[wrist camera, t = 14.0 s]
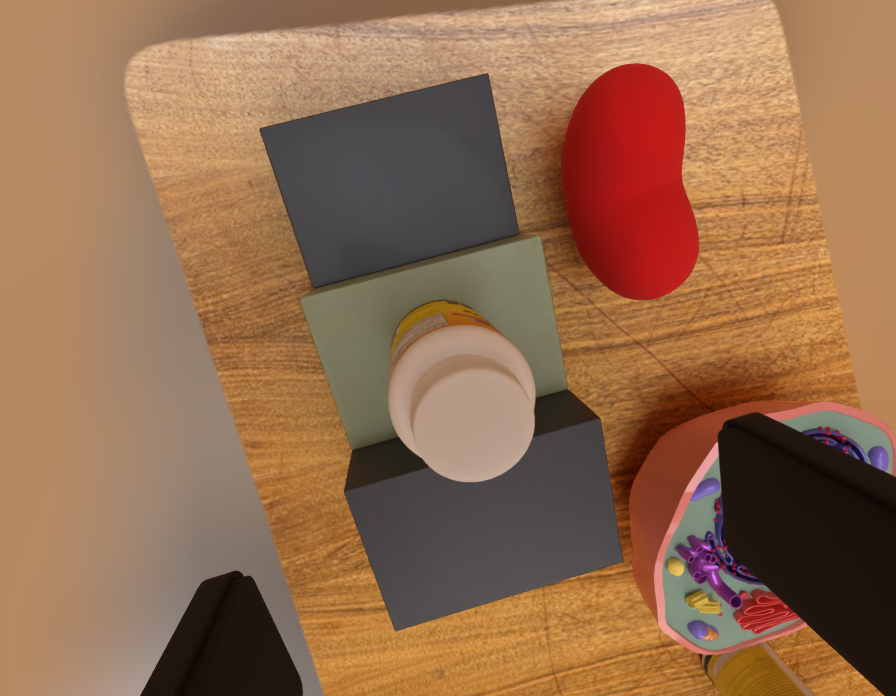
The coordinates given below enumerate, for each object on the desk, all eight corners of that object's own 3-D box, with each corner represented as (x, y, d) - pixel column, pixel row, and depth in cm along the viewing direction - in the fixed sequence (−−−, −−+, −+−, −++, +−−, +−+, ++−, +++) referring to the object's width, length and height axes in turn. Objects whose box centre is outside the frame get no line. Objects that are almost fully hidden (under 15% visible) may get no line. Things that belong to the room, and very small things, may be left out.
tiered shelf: (395, 506, 33) (395, 632, 23) (273, 140, 26) (189, 74, 15) (552, 460, 34) (623, 562, 23) (478, 90, 26) (533, -7, 16)
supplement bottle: (509, 361, 24) (589, 449, 14) (425, 413, 24) (446, 535, 14) (458, 276, 22) (508, 308, 12) (369, 332, 22) (349, 407, 13)
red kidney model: (628, 273, 31) (733, 290, 21) (557, 295, 30) (631, 322, 21) (600, 98, 27) (709, 24, 18) (520, 121, 27) (588, 59, 18)
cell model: (550, 534, 36) (617, 665, 25) (683, 326, 32) (828, 372, 21) (700, 594, 39) (815, 731, 29) (833, 413, 36) (1023, 490, 25)
